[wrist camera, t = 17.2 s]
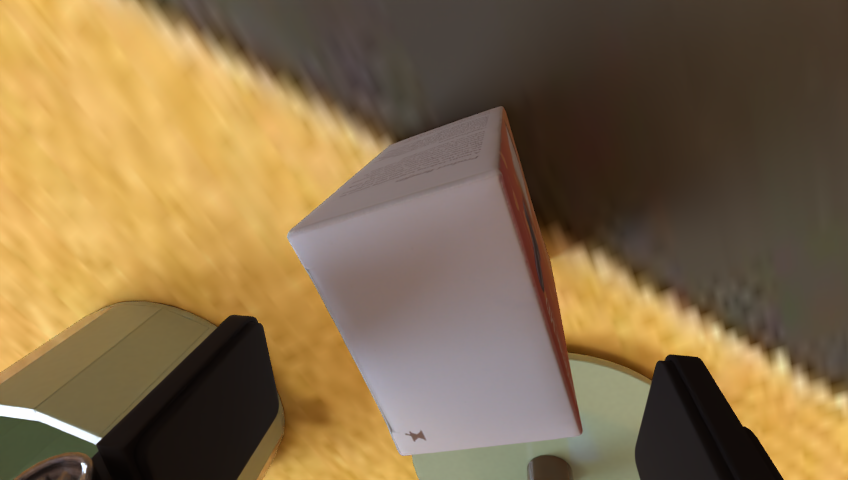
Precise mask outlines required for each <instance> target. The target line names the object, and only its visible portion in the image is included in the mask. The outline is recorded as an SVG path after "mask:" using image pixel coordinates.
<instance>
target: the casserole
mask: <svg viewBox="0 0 848 480" xmlns="http://www.w3.org/2000/svg"><path fill="white" fill-rule="evenodd" d="M216 328H217V326H215V325H213V324H212V323H210V322H208V321H207V320H205V319H203V318H200V317H198V316H196V315H194V314H192V313H190V312H187V311H184V310H181V309H179V308H176V307H172V306H168V305H164V304H160V303H153V302H144V301H130V302H121V303H116V304H113V305H109V306H106V307H104V308H102V309H100V310H98V311H96V312H95V313H92V314H90V315H87V316H85V317H83V318H82V319H80V320H79V321H77V322H76V323H74V324H73V325H71V326H70V327H68V328H67V329H65V330H64V331H62V332H61V333H59V334H58V335H56V336H55V337H53V338H52V339H50V340H49V341H47V342H46V343H44V344H43V345H41V346H40V347H38V348H37V349H35V350H34V351H32V352H31V353H29V354H28V355H26V356H25V357H23V358H22V359H20V360H19V361H17V362H15V363H14V364H12V365H11V366H9V367H8V368H6V369H5V370H3V371H2V372H0V480H13V479H15V478H16V477H17V476H18V475H20V474H21V473H22V472H23V471H25V470H27V469H28V468H30V467H32V466H33V465H35V464H36V463H38V462H41V461H43V460H45V459H47V458H50V457H52V456H55V455H59V454H63V453H68V452H80V453H84V454H87V455H88V456H89V457H90V458H92V457H93V456H94V455H95V454H96V453H97V452H98V451H99V450H98V448H97V446H96V444H97V443H98V442H99V441H100V440H101V439H102V438H103V437H104V436H105V435H106V434H107V433H108V432H109V431H110V430H111V429H112V428H113V427H115V426H116V425H117V424H118V423H119V422H120V421H121V420H122V419H123V418H124V417H125V416H126V415H127V414H128V413H129V412H130V411H131V410H132V409H133V408H134V407H135V406H136V405H137V404H138V403H139V402H140V401H141V400H142V399H144V398H145V397H146V396H147V395H148V394H149V393H150V392H151V391H152V390H153V389H154V388H155V387H156V386H157V385H158V384H159V383H160V382H161V381H162V380H163V379H164V378H165V377H166V376H167V375H168V374H169V373H170V372H172V371H173V370H174V369H175V368H176V367H177V366H178V365H179V364H180V363H181V362H182V361H183V360H184V359H185V358H186V357H187V356H188V355H189V354H190V353H191V352H192V351H193V350H194V349H195V348H196V347H197V346H198V345H200V344H201V343H202V342H203V341H204V340H205V339H206V338H207V337H208V336H209V335H210V334H211V333H212V332H213V331H214V330H215V329H216ZM277 395H278V399H279V410H278V414H277V416H276V418H275V420H274V421H273V423H272V425H271V426H270V428H269V429H268V431H267V433H266V434H265V436H264V437H263V439H262V440H261V442H260V444H259V445H258V447H257V448H256V450H255V452H254V453H253V455H252V456H251V458H250V460H249V461H248V463H247V464H246V466H245V468H244V469H243V471H242V472H241V474H240V476H239V477H238V479H237V480H263V478H264V476H265V474H266V473H267V471H268V469H269V467H270V465H271V464H272V462H273V460H274V458H275V455H276V452H277V449H278V447H279V445H280V443H281V441H282V438H283V433H284V423H285V418H284V411H283V406H282V403H281V400H280V397H279V394H278V392H277Z"/></svg>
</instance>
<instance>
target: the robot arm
mask: <svg viewBox="0 0 848 480" xmlns="http://www.w3.org/2000/svg"><path fill="white" fill-rule="evenodd" d="M278 410H279V399H278V395H277V390H276V385H275V380H274V376H273V371H272V366H271V362H270V357H269V352H268V347H267V343H266V338H265V333H264V328H263V326H262V324H260V323H258V321H257V319H256V318H255V317H251V316H240V315H231V316H229V317H228V318H226V319H225V320H224V321H223V322H222V323H221V324H220V325H219V326H218V327H217V328H216V329H215V330H214V331H213V332H212V333H211V334H210V335H209V336H208V337H207V338H206V339H205V340H204V341H203V342H202V343H201V344H200V345H198V346H197V347H196V348H195V349H194V350H193V351H192V352H191V353H190V354H189V355H188V356H187V357H186V358H185V359H184V360H183V361H182V362H181V363H180V364H179V365H178V366H177V367H176V368H175V369H174V370H173V371H172V372H170V373H169V374H168V375H167V376H166V377H165V378H164V379H163V380H162V381H161V382H160V383H159V384H158V385H157V386H156V387H155V388H154V389H153V390H152V391H151V392H150V393H149V394H148V395H147V396H146V397H145V398H144V399H142V400H141V401H140V402H139V403H138V404H137V405H136V406H135V407H134V408H133V409H132V410H131V411H130V412H129V413H128V414H127V415H126V416H125V417H124V418H123V419H122V420H121V421H120V422H119V423H118V424H117V425H116V426H115V427H113V428H112V429H111V430H110V431H109V432H108V433H107V434H106V435H105V436H104V437H103V438H102V439H101V440H100V441H99V442H98V443H97V444H96V446H97V448H98V450H99V451H98V452H97V453H96V454H95V455H94V456H93V457H92V458H90V457H89V456H88V455H87V454H84V453H80V452H68V453H63V454H59V455H55V456H52V457H50V458H47V459H45V460H43V461H41V462H38V463H36V464H35V465H33V466H32V467H30V468H28V469H27V470H25V471H23V472H22V473H21V474H20V475H18V476H17V477H16V478H15V479H13V480H237V479H238V477H239V476H240V474H241V472H242V471H243V469H244V468H245V466H246V464H247V463H248V461H249V460H250V458H251V456H252V455H253V453H254V452H255V450H256V448H257V447H258V445H259V444H260V442H261V440H262V439H263V437H264V436H265V434H266V433H267V431H268V429H269V428H270V426H271V425H272V423H273V421H274V420H275V418H276V416H277V414H278ZM635 463H636V467H637V470H638V474H639V477H640V480H784V479H783V478H782V476H781V475H780V473H779V471H778V470H777V468H776V467H775V465H774V464H773V462H772V460H771V459H770V457H769V456H768V454H767V453H766V451H765V449H764V448H763V446H762V445H761V443H760V442H759V440H758V438H757V437H756V436H755V435H754V433H753V432H752V431H751V430H750V429H748V428H746V427H743V426H742V425H741V423H740V421H739V420H738V418H737V416H736V415H735V413H734V412H733V410H732V408H731V407H730V405H729V404H728V402H727V400H726V399H725V397H724V395H723V394H722V392H721V391H720V389H719V387H718V386H717V384H716V382H715V381H714V379H713V378H712V376H711V374H710V373H709V371H708V369H707V368H706V366H705V365H704V363H703V361H702V360H701V359H700V358H698V357H691V356H680V355H668V356H667V357H666V359H665V361H658V362H657V364H656V366H655V370H654V374H653V378H652V382H651V386H650V390H649V394H648V398H647V402H646V406H645V410H644V414H643V418H642V422H641V426H640V430H639V434H638V438H637V442H636V446H635Z"/></svg>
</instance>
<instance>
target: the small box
mask: <svg viewBox="0 0 848 480" xmlns="http://www.w3.org/2000/svg"><path fill="white" fill-rule="evenodd" d="M287 238H288V240H289V242H290V244H291V246H292V247H293V249H294V251H295V252H296V254H297V256H298V258H299V260H300V262H301V263H302V265H303V266H304V268H305V269H306V271H307V273H308V274H309V276H310V278H311V280H312V281H313V283H314V285H315V287H316V289H317V291H318V293H319V294H320V296H321V298H322V300H323V302H324V304H325V306H326V308H327V310H328V311H329V313H330V315H331V317H332V319H333V321H334V322H335V324H336V326H337V328H338V330H339V332H340V334H341V336H342V338H343V340H344V342H345V344H346V346H347V348H348V350H349V351H350V353H351V355H352V357H353V359H354V361H355V363H356V365H357V367H358V368H359V370H360V372H361V374H362V376H363V378H364V380H365V382H366V384H367V386H368V388H369V390H370V392H371V394H372V396H373V398H374V400H375V402H376V404H377V406H378V408H379V410H380V412H381V414H382V416H383V418H384V420H385V422H386V424H387V426H388V429H389V432H390V434H391V436H392V439H393V441H394V443H395V445H396V448H397V450H398V452H399V454H400V455H402V456H406V455H416V454H425V453H437V452H445V451H455V450H463V449H472V448H481V447H491V446H499V445H508V444H518V443H527V442H537V441H544V440H554V439H560V438H567V437H577V436H580V435H581V434H582V432H583V430H582V424H581V419H580V414H579V409H578V404H577V399H576V395H575V389H574V384H573V379H572V374H571V369H570V363H569V358H568V352H567V347H566V341H565V336H564V330H563V325H562V320H561V315H560V309H559V304H558V298H557V293H556V288H555V282H554V277H553V272H552V267H551V262H550V258H549V255H548V252H547V249H546V246H545V243H544V240H543V238H542V234H541V231H540V228H539V225H538V222H537V218H536V215H535V212H534V208H533V205H532V201H531V198H530V194H529V191H528V187H527V184H526V180H525V177H524V173H523V170H522V166H521V162H520V159H519V156H518V152H517V149H516V145H515V142H514V138H513V135H512V131H511V128H510V124H509V121H508V118H507V114H506V111H505V109H504V107H502V106H500V107H496V108H493V109H490V110H487V111H484V112H481V113H478V114H475V115H472V116H470V117H467V118H464V119H461V120H458V121H455V122H453V123H450V124H447V125H444V126H441V127H438V128H436V129H433V130H430V131H427V132H424V133H422V134H419V135H416V136H413V137H410V138H408V139H405V140H402V141H400V142H397V143H394V144H391V145H389V146H388V147H387V148H386V149H385V150H384V151H383V152H381V153H380V154H379V155H378V156H377V157H375V158H374V159H373V160H372V161H371V162H369V163H368V164H367V165H366V166H365V167H364V168H362V169H361V170H360V171H359V172H358V173H356V174H355V175H354V176H353V177H352V178H351V179H349V180H348V181H347V182H346V183H345V184H344V185H342V186H341V187H340V188H339V189H338V190H337V191H336V192H335V193H333V194H332V195H331V196H330V197H329V198H327V199H326V200H325V201H324V202H323V203H322V204H320V205H319V206H318V207H317V208H316V209H315V210H313V211H312V212H311V213H310V214H309V215H308V216H306V217H305V218H304V219H303V220H302V221H301V222H299V223H298V224H297V225H296V226H295V227H293V228H292V229H291V230H290V231H289V232H288V235H287Z"/></svg>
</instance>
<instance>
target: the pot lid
mask: <svg viewBox="0 0 848 480" xmlns="http://www.w3.org/2000/svg"><path fill="white" fill-rule="evenodd" d="M568 358H569V363H570V369H571V374H572V379H573V384H574V389H575V395H576V399H577V404H578V409H579V414H580V419H581V424H582V430H583V432H582V434H581V435H580V436H577V437H567V438H560V439H554V440H544V441H537V442H527V443H518V444H508V445H499V446H491V447H481V448H472V449H463V450H455V451H445V452H437V453H425V454H416V455H412V459H413V464H414V467H415V471H416V474H417V476H418V478H419V480H640V477H639V474H638V470H637V467H636V463H635V446H636V442H637V438H638V434H639V430H640V426H641V422H642V418H643V414H644V410H645V406H646V402H647V398H648V394H649V390H650V386H651V382H652V381H651V380H650V379H648V378H647V377H645V376H643V375H641V374H639V373H637V372H635V371H633V370H631V369H629V368H627V367H625V366H622V365H619V364H616V363H613V362H611V361H608V360H604V359H600V358H596V357H592V356H588V355H583V354H576V353H569V352H568Z"/></svg>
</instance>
